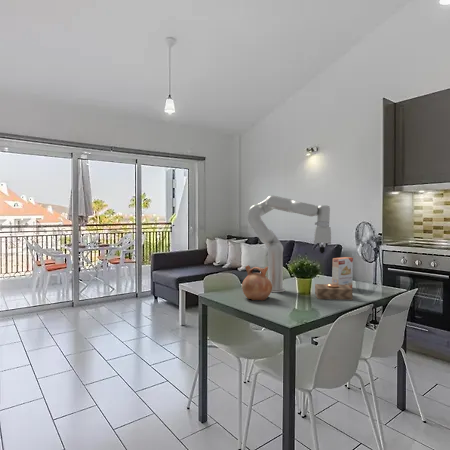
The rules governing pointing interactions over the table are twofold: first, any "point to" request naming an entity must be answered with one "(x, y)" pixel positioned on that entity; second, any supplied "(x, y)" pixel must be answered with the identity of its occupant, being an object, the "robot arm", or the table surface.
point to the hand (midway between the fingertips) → (321, 253)
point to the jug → (256, 284)
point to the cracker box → (342, 271)
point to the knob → (332, 285)
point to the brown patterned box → (333, 292)
